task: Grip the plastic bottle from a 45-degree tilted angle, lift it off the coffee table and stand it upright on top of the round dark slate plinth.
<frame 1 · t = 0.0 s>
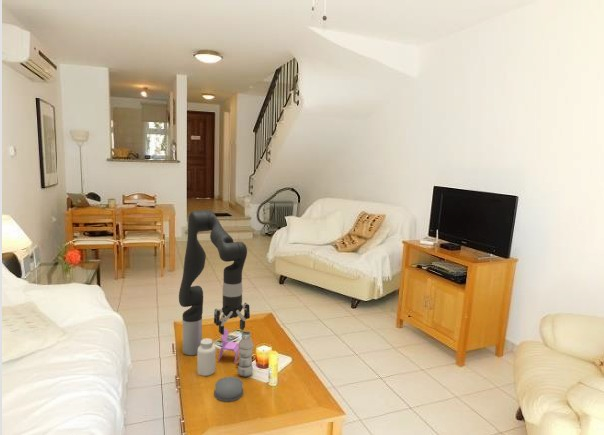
hand: (231, 331, 164), 29 cm above the table, tool pointing down, fingers open, 8 cm apart
pill bottle: (206, 372, 188), on the table
toy chair: (228, 359, 199), on the table
plastic bottle: (245, 375, 187), on the table
slate plinth: (228, 392, 173), on the table
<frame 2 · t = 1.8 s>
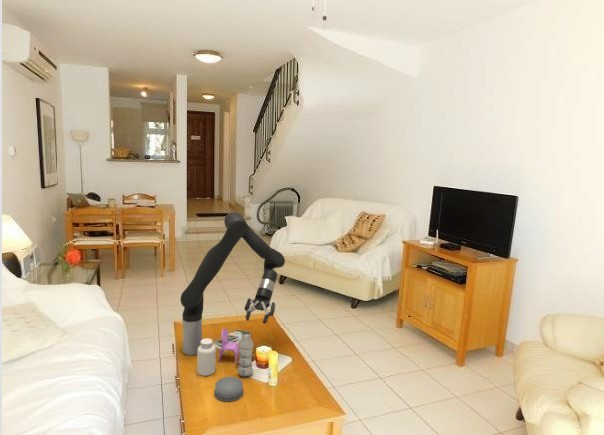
hand: (255, 321, 194), 21 cm above the table, tool tilted 45°, fingers open, 8 cm apart
nothing on the table moved.
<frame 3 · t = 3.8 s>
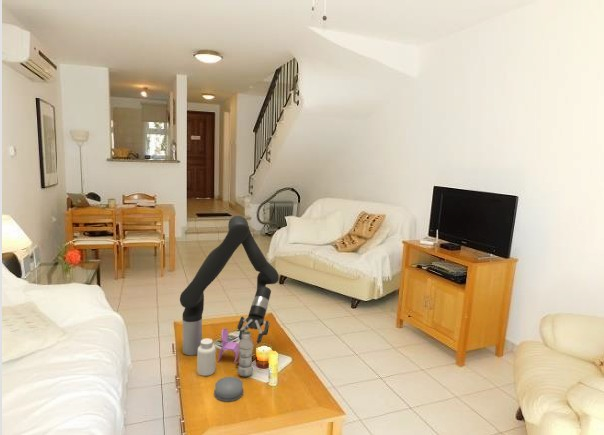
hand: (249, 341, 188), 14 cm above the table, tool tilted 45°, fingers open, 8 cm apart
nothing on the table moved.
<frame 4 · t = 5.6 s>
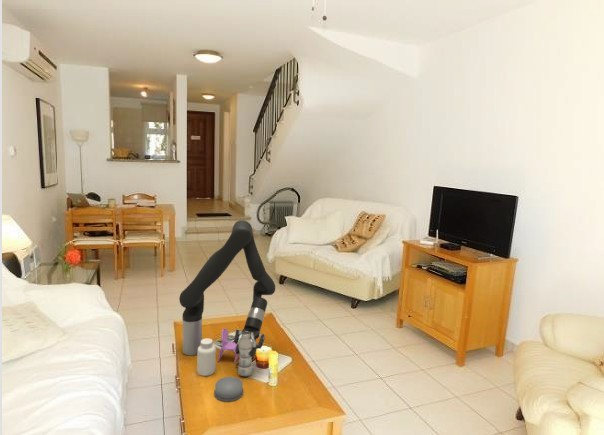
hand: (244, 355, 183), 10 cm above the table, tool tilted 45°, fingers closed on plastic bottle, 6 cm apart
plastic bottle: (245, 375, 187), on the table, touching gripper
everything else where it was.
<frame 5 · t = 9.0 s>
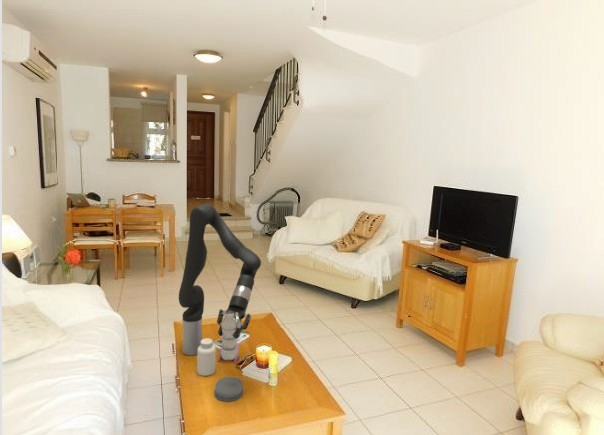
hand: (227, 336, 167), 26 cm above the table, tool tilted 45°, fingers closed on plastic bottle, 6 cm apart
plastic bottle: (229, 358, 170), point 15 cm above the table, touching gripper
everything else where it was.
when the fingers open (16 cm above the table, at t = 12.2 s): plastic bottle drops 1 cm, resting on slate plinth.
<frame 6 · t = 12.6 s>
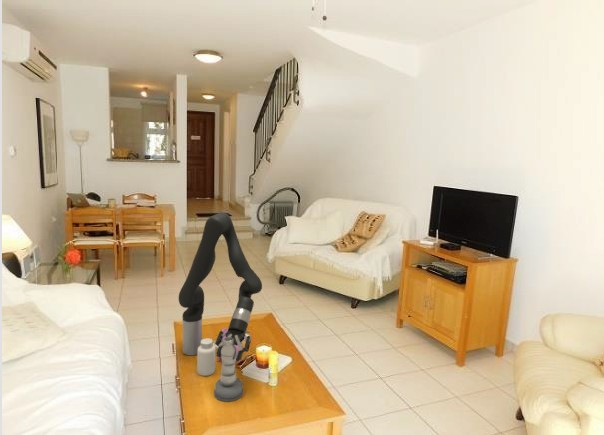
hand: (227, 358, 169), 16 cm above the table, tool tilted 45°, fingers open, 8 cm apart
plastic bottle: (228, 384, 172), point 4 cm above the table, touching slate plinth
everything else where it was.
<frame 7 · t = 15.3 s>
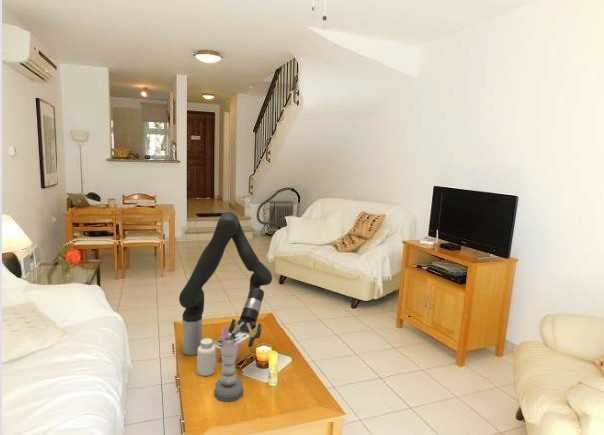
hand: (240, 344, 180), 16 cm above the table, tool tilted 45°, fingers open, 8 cm apart
nothing on the table moved.
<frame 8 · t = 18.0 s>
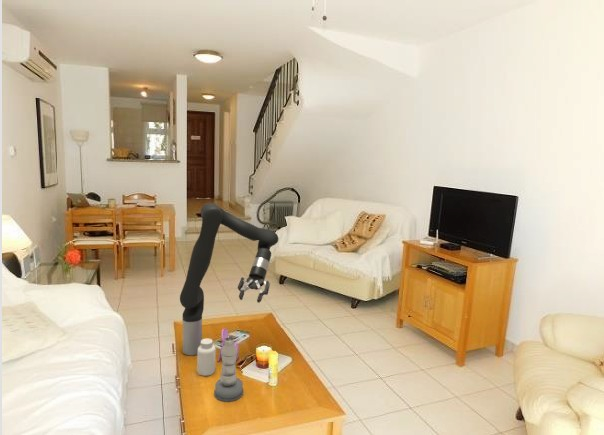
hand: (249, 300, 187), 33 cm above the table, tool tilted 45°, fingers open, 8 cm apart
nothing on the table moved.
at the end: plastic bottle inside the target area on the slate plinth (0.4 cm from its centre), point 3.8 cm above the slate plinth's base; plastic bottle tilted 0°; the gripper is holding nothing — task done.
